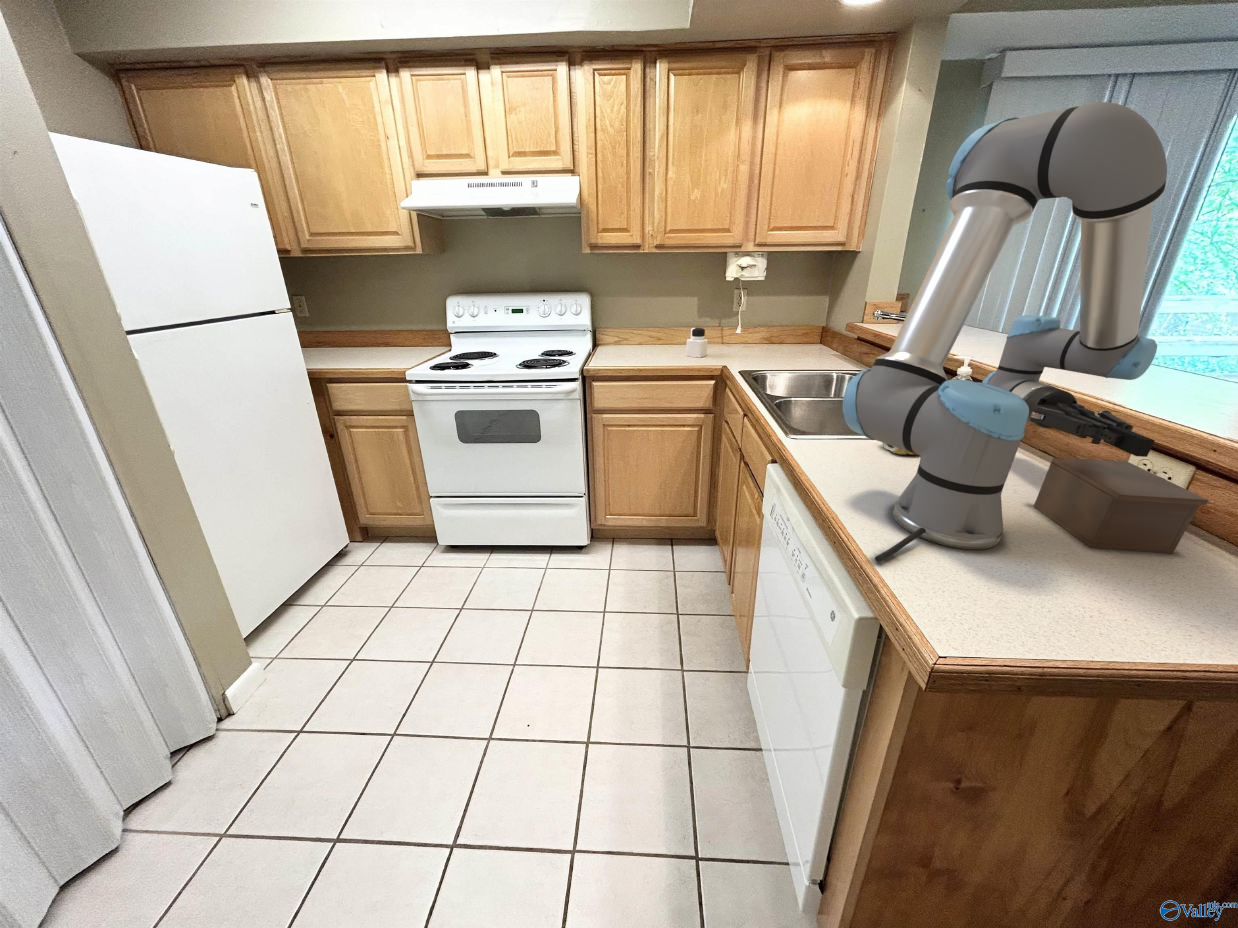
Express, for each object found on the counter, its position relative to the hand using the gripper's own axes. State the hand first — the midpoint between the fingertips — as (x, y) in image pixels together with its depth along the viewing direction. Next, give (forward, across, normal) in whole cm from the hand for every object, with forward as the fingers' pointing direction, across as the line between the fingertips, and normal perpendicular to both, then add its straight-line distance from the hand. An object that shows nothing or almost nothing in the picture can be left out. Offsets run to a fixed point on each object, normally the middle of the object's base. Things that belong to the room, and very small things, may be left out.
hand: (1145, 448), depth 74 cm
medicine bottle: (-142, +64, -15) cm, 156 cm away
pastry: (-34, +18, -15) cm, 42 cm away
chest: (-2, 0, -15) cm, 15 cm away
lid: (-1, 0, -6) cm, 6 cm away
